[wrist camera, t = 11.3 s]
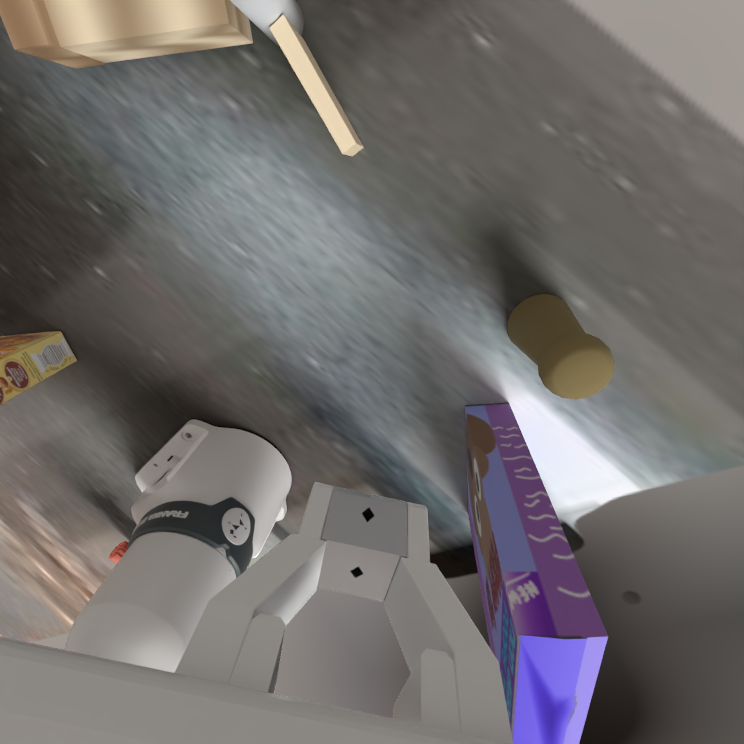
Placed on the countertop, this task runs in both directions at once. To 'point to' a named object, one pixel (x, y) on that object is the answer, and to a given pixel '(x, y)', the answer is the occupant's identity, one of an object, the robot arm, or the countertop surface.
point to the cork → (560, 347)
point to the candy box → (31, 360)
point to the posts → (302, 63)
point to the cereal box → (529, 585)
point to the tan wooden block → (121, 28)
